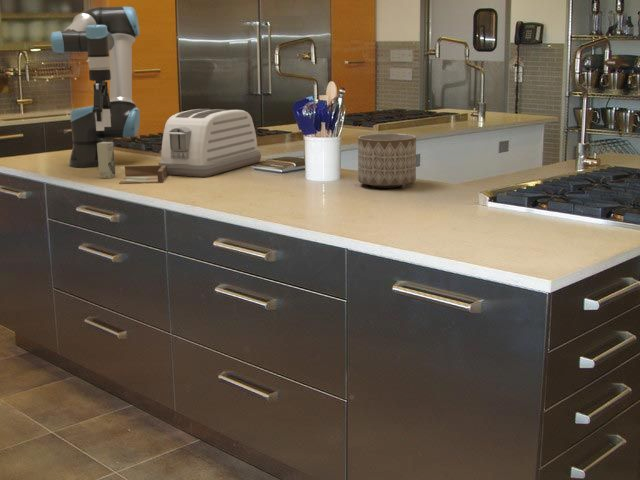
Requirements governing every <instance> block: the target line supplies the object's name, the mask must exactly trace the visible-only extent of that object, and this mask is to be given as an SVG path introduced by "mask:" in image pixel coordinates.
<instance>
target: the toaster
mask: <svg viewBox="0 0 640 480" xmlns="http://www.w3.org/2000/svg"><path fill="white" fill-rule="evenodd" d="M256 133H257V132H256V129H255V126H254V122H253V118H252V116H251V114H250V113H249V112H248V111H245V110H243V109H224V108H222V109H221V108H216V109H211V108H197V109H196V108H195V109H190V110H186V111H180V112H177V113H176V114H173V115H171V116H170V117H169V118H168V119H167V120H166V122H165V126H164V129H163V134H162V141H161V157H160V158H161V160H160V161H159V162H158V165H166V167H167V176H179V177H195V178H207V177H212V176H215V175H219V174H222V173H225V172H229V171H232V170H235V169H236V170H237V169H239V168H243V167H246V166H250V165H254V164H258V163H259V162H260V161H261V159H262V154H261V150H258V140H257V134H256Z"/></svg>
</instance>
